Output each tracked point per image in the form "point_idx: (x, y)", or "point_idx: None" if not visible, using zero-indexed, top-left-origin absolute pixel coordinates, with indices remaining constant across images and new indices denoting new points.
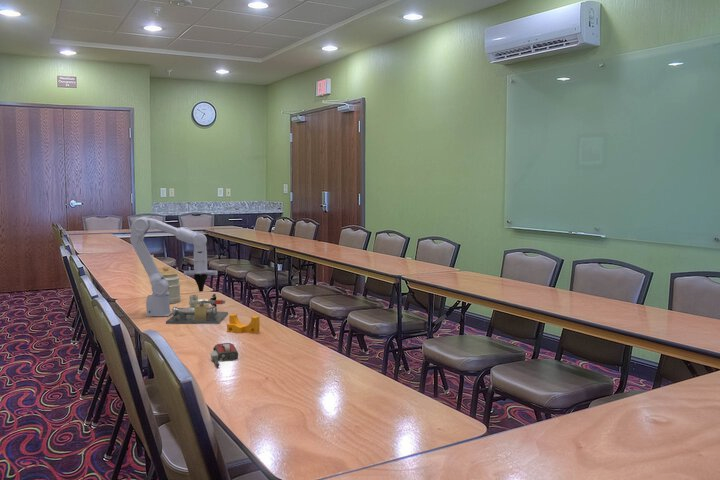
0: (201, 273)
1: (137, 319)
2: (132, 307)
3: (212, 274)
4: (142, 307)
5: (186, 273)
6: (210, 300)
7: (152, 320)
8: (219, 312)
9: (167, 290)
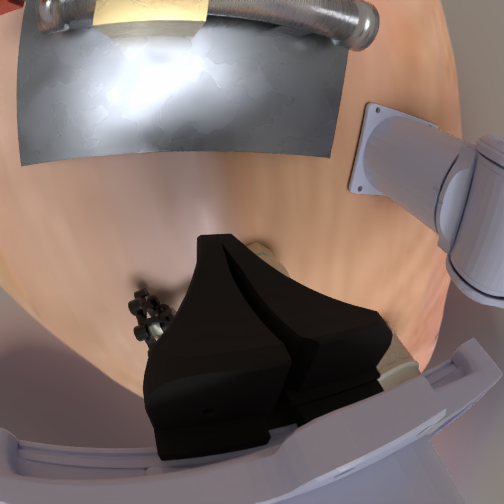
0: (271, 449)
1: (453, 87)
2: (440, 271)
3: (49, 455)
4: (422, 274)
5: (470, 367)
6: (171, 318)
7: (413, 45)
8: (60, 137)
9: (379, 362)
